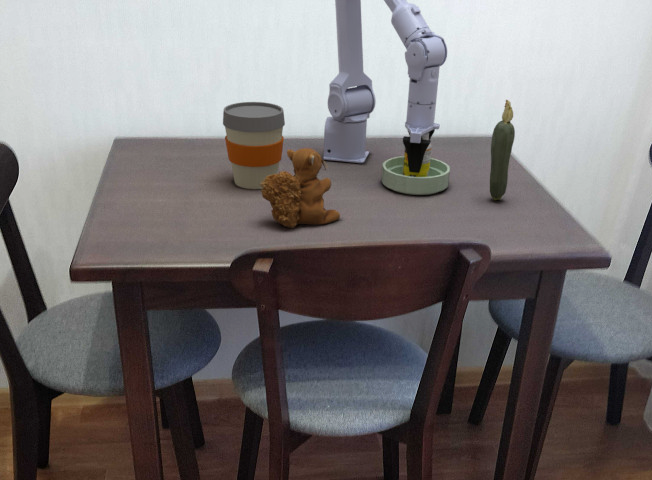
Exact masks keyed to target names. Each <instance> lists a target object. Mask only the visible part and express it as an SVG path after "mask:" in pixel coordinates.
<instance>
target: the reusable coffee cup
mask: <svg viewBox="0 0 652 480" xmlns="http://www.w3.org/2000/svg"><path fill="white" fill-rule="evenodd" d="M222 112H223V113H222V126H224V128H225V130H224V131H225V136H224V140H225V146H226V153H227V156H228V158H227V159H228V161H229V162H230V165H231V170H232V175H233V181H234V184H235V185H236V186H237V187H239V188H243V189H247V190H262V189H263V188H264V187H262V186H260V185H259V183H261V182H262V180H265V178H266V177H267V176H268V175H273V174H278V173H279V166H280V162H281V161H282V157H283V149H284V148H283V147H284V139H285V138H284V136H283V131H284V130H283V129H284V126H285V125H286V122H285V112H284V108H283V107H282V106H281V105H278V104H275V103H270V102H262V101H244V102H243V101H242V102H235V103H232V104H228V105H226V106H225V107H224V108H223V111H222Z"/></svg>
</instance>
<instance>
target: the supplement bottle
mask: <svg viewBox="0 0 652 480" xmlns="http://www.w3.org/2000/svg"><path fill="white" fill-rule="evenodd" d="M408 137H411V134H410V136H409V135H408ZM422 138H423V140H429V133H426V134H424V135H422ZM432 146H433V145H432V141H431V142H430V144H429V146H428V148H427V149H426V151H425V154H424V158H423V162H422V166H421V169H420V172H419V173H415V172H410V171H409V166H408V157H407V152H406V148H405V147H404V153H403V156H404V165H403V175H405V176H411V177H429V169H430V159H431V158H432V157H431V156H432V148H433V147H432Z"/></svg>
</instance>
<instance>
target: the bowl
mask: <svg viewBox="0 0 652 480" xmlns="http://www.w3.org/2000/svg"><path fill="white" fill-rule="evenodd" d="M403 165H404V155H402V156H394V157H392V158H388V159H386V160H385V161H383V163H382V166H381V183H382V184H383V185H384V187H386V188H388V189H390V190H392V191H394V192H396V193H401V194H405V195H413V196H427V195H434V194H437V193H439V192H442V191H445V189H447V188H448V187H449V184H450V183H449V182H450V174H451V167H450V166H449V164H448V163H446V162H445V161H443V160H440V159H437V158H433V157H431V159H430V169H429V177H411V176H405V175H403Z"/></svg>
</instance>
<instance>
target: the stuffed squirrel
mask: <svg viewBox="0 0 652 480" xmlns="http://www.w3.org/2000/svg"><path fill="white" fill-rule="evenodd" d="M286 155H287V157H288V158H289V160H290V161H291V163H292V166H293V173H294V175H293V174H291V173H290V172H289V171H285V170H280V171H278V174H273V175H268V176H267V177H266V178H265V180H262V182H261V183H259V185H260V186H262V187H264V188H263V189H260V193H261V196H262V198H263V199H264V200H266V201H268V202H269V203H270V206H271V208H272V209H271V210H270V211H271V216H272V218H273V220H274V221H276V222H277V223H279V224H280V225H282V226H283V227H287V228H289V229H295V227H296V226H297V225H301V224H303V225H327V224H329V223H333V222H335V221H338V220H339V219H340V217H341V213H340V212H339V211H338V210H336V209H325V200H324V199H325V198H323V197H324V195H325V193H327V192H328V191H330V189H331V187H332V180H331V179H330V178H329V177H324V178H322V179H320V178H318V174H319V173H320V171H321V169H322V168H323V167H324V171H327V169H329V167H328V165H327V163H326V161H325V160H324V159H323V158H322V156H321V154H320V153H319V152H317V150H315V149H313V148H310V147H303V148H299V149H296V150H295V151H294V150H293V149H287V150H286Z"/></svg>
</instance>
